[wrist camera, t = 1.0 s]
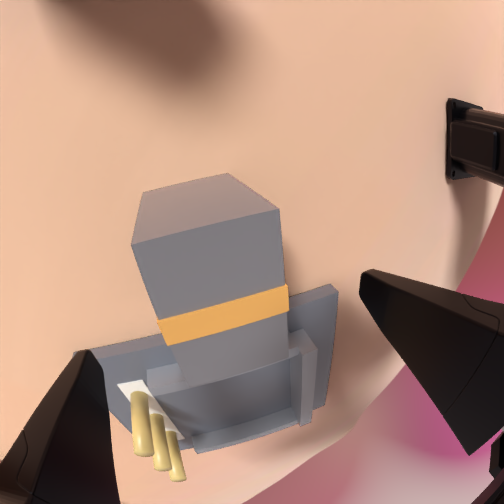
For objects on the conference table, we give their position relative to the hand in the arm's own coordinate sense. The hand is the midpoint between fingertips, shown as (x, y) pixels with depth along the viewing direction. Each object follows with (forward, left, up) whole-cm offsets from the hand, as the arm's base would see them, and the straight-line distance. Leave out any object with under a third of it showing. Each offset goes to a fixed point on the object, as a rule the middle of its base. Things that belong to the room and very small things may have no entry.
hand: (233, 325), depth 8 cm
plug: (0, 0, -6) cm, 7 cm away
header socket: (0, +12, -6) cm, 14 cm away
